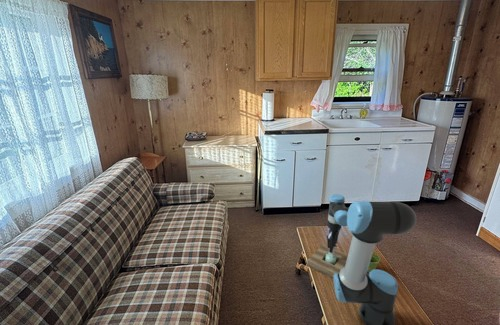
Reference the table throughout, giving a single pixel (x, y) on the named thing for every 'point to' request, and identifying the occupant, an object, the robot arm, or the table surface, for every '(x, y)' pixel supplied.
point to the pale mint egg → (330, 259)
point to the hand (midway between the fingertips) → (331, 256)
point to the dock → (324, 267)
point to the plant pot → (373, 262)
